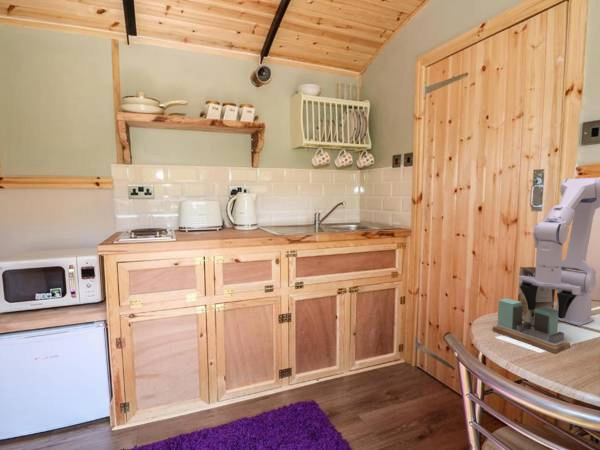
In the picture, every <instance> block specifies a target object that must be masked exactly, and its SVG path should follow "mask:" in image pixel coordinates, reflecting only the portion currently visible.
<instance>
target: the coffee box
mask: <svg viewBox="0 0 600 450" xmlns="http://www.w3.org/2000/svg"><path fill="white" fill-rule="evenodd" d="M535 274H536V266H535V267H534V266H533V267H532V266H531V267H530V266H527V267H526V266H522V267H521V266H519V274H518V277H519V276H522V275H523V276H529V277H535ZM522 284H523V283H519V282H518V293H517V301H520V302H521V305H522V306H523V308H522V321H524V323H525V322H530V323H531V326H534V313H535V309H537V308H540V307H546V308H549V309H553V310H555V308H554V307H555V295H556V290H554V289H550V288H545V287H540V286H538V289H537V293H536V305H535V309H533V310H528V305H527V301H526V298H525V296H524V294H523V292H522V290H521V288H520V285H522Z"/></svg>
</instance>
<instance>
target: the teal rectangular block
mask: <svg viewBox="0 0 600 450" xmlns="http://www.w3.org/2000/svg"><path fill="white" fill-rule="evenodd" d="M558 325H559V320H558V311H557V310H556V309H554V310H553V309H549V308H546V307H540V308H537V309H535V313H534V325H533V329H534V330H537V331H540V332H543V333H546V334H549V335H552V334H555V333H558V328H559V327H558Z"/></svg>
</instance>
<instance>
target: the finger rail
mask: <svg viewBox="0 0 600 450" xmlns="http://www.w3.org/2000/svg"><path fill="white" fill-rule="evenodd" d="M522 308H523V306H522V305H521V302H520V301H518V300H515V299H511V298H508V297H507V298H503V299H499V300H498V308H497V324H496V325H495V326H493V327H492V331H493V332H494V333H496V334H497V333H498V334H499V335H503V336H506V337H508V338H512V339H514V340H517V341H519V342H522V343H525V344H528V345H531V346H533V347H535V348H536V347H537V348H539V349H542V350H544V351H546V352H550V353H552V354H558V353H560V352H562V351H564V350H568V349H569V348H571V342H570V341H567V339H565V333H564V332H562V331H557V333H555V334H552V335H549V334H546V333H543V332H540V331H537V330H534V328H532V325H531V323H530V322H525V321H524V322H523V319H522Z"/></svg>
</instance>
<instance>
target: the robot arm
mask: <svg viewBox="0 0 600 450" xmlns="http://www.w3.org/2000/svg"><path fill="white" fill-rule="evenodd" d="M559 187H560V188H559V189H560V190H559V191H560V195H561V198H560V201H559V203H558V204H556V205H554V206H552V207H551V209H550V210H549V211H548V213H547V215H546V217H544V219H543V220H542V221H540V222H539V223H536V224H535V225H534V228H533V233H532V235H533V240H534V248H535V249H536V255H535V257H536V258H535V267H536V274H535V277H529V276H523V275H522V276H519V275H518V284H519V283H523V284H522V285H520V288H521V290H522V292H523V294H524V296H525V298H526V301H527V305H528V310H533V309H535V305H536V293H537V289H538V286H540V287H545V288H550V289H554V290H555V291H556V292H557V293H556V309H555V310H557V311H558V321H561V322H563V323H567V324H570V325H574V326H583V325H585V324H587V323H590V322H594V321H595V318H594V317H592V305H593V304H592V303H593V301H592V300H593V299H592V297H591V295H590V294H591V293H593V292H594V291H595V288H596V280H597V279H596V274H597V272H596V270H595V268H594V267H593V266H592V265H591V264H589V263H588V262H587V261H586V260H587V254H588V248H589V245H590V238H591V232H592V227H593V222H594V221H593V220H594V215H595V213H596V210H597V209H599V208H600V176H599V177H585V178H581V177H580V178H579V177H578V178H564V179H563V180H562V182H561V183H560V186H559ZM570 225H571V228H570V229H569V227H570ZM569 230H570V233H569ZM568 233H569V240H568V245H567V249H566V255H565V258H564V259H563V247H564V245H565V243H566V241H567V239H568ZM563 244H564V245H563Z"/></svg>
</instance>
